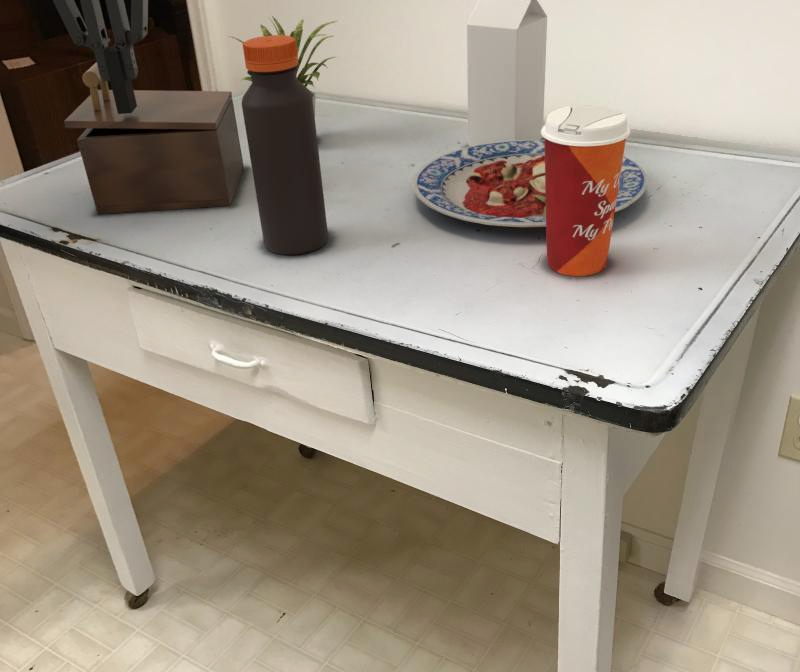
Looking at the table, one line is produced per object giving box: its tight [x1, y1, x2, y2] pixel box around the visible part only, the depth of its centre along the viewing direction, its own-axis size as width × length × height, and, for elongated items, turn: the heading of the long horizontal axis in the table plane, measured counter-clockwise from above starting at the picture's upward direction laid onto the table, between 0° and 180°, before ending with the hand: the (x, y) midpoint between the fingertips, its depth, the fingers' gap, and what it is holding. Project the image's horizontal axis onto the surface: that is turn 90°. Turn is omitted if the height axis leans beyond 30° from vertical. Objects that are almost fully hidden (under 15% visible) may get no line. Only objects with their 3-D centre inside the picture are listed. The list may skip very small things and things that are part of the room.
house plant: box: [227, 15, 338, 117], centre depth 112 cm, size 14×14×16 cm
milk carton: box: [466, 0, 548, 147], centre depth 106 cm, size 7×7×19 cm
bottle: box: [241, 34, 329, 256], centre depth 84 cm, size 7×7×20 cm
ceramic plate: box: [412, 139, 648, 228], centre depth 96 cm, size 26×26×3 cm
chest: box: [76, 98, 245, 215], centre depth 102 cm, size 16×13×9 cm
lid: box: [63, 62, 233, 130], centre depth 98 cm, size 16×13×5 cm
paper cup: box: [541, 104, 631, 277], centre depth 78 cm, size 8×8×14 cm
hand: (127, 109), depth 95 cm, fingers closed
